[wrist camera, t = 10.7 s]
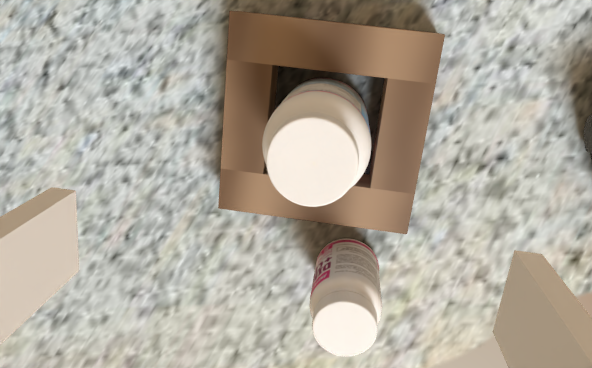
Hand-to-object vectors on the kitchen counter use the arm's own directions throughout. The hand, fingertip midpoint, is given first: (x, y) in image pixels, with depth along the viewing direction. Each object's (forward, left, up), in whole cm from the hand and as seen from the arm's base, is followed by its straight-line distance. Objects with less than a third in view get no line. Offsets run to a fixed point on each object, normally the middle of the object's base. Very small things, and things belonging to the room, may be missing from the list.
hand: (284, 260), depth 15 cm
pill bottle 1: (0, 0, -22) cm, 22 cm away
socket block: (0, 0, -22) cm, 22 cm away
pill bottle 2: (+3, -11, -22) cm, 25 cm away
